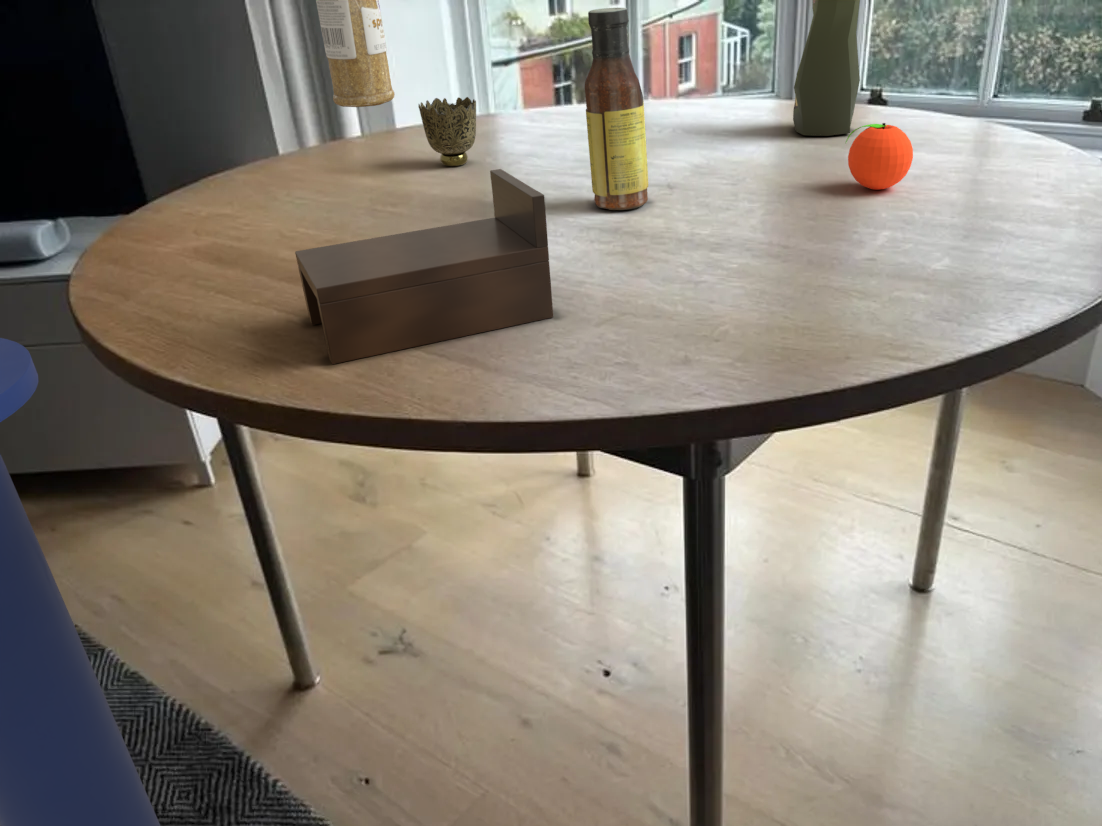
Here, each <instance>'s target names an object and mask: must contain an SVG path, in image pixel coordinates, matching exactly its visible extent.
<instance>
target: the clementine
mask: <svg viewBox="0 0 1102 826" xmlns="http://www.w3.org/2000/svg"><path fill="white" fill-rule="evenodd" d="M862 128H865V129H864V130H863V131H861V132H859V134H857V136H856V137H855V139H853V141H852V143H851V145H850V148H849V151H848V155H847V165H848V168H849V172H850V175H852V177H853V179H854V180H855V181H856V182H857V183H858V184H860V185H861V186H862V187H865V188H868V189H870V190H874V191H875V190H879V191H880V190H885V189H888V188H892V187H893V186H895V185H897V184H898V183H900V182H901V181H902V180H903V179H904V178H905V177H906V176H907V174H908V172H909V171H910V169H911V167H912V163H913V160H914V148H913V144H912V142H911V140H910V138H909V136H908V135H907V134H906V132H904V131H903V130H901V128H899V127H898V126H896V125H891V124H887V123H886V122H882V123H881V124H880V123H870V124H865V125H862V126H860V127H857V128H855V129H854V130H852V131H850V133H849V134H848V136H847V138H846V140H845V143H844V144H847V142H848V140H849V138H850V137H851V135H852V134H854V133H855V132H856V131H857V130H859V129H862Z"/></svg>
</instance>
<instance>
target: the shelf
mask: <svg viewBox="0 0 1102 826" xmlns="http://www.w3.org/2000/svg"><path fill="white" fill-rule="evenodd" d="M489 172H490V173H489V174H490V183H491V193H492V202H493V212H494V213H493V214H494V217H489V218H482V219H478V220H472V221H466V222H461V223H454V224H448V225H442V226H436V227H430V228H425V229H419V230H413V231H407V232H401V233H395V234H389V235H382V236H378V237H371V238H366V239H359V240H355V241H354V240H353V241H348V242H343V243H337V244H330V245H324V246H318V247H312V248H306V249H299V250H295V252H294V254H295V259H296V263H297V267H298V268H297V269H298V272H299V278H300V283H301V286H302V287H301V288H302V290H303V295H304V300H305V304H306V309H307V314H308V319H309V321H310V323H311V325H312V326H315V325H320V324H321V326H322V330H323V334H324V340H325V344H326V349H327V355H328V358H329V361H330V363H331V364H332V365H337V364H340V363H345V362H350V361H355V360H359V359H364V358H368V357H373V356H377V355H383V354H387V353H392V352H397V351H400V350H405V349H411V348H415V347H421V346H425V345H429V344H433V343H434V344H435V343H439V342H444V341H449V340H453V339H457V338H462V337H467V336H471V335H477V334H480V333H485V332H491V331H494V330H500V329H504V328H509V327H513V326H514V327H515V326H519V325H523V324H529V323H533V322H537V321H542V320H546V319H551V318H554V307H553V295H552V293H553V292H552V281H551V280H552V279H551V268H550V267H551V266H550V253H549V239H548V225H547V212H546V202H545V201H546V199H545V194H543V193H541V192H540V191H538V190H537V189H535V188H534V187H531V186H530V185H528V184H527V183H525V182H523V181H522V180H520V179H518V178H517V177H516V176H514V175H512V174H510V173H508V172H507V171H505V170H503V169H501V168H497V169H491V170H490V171H489Z"/></svg>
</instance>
